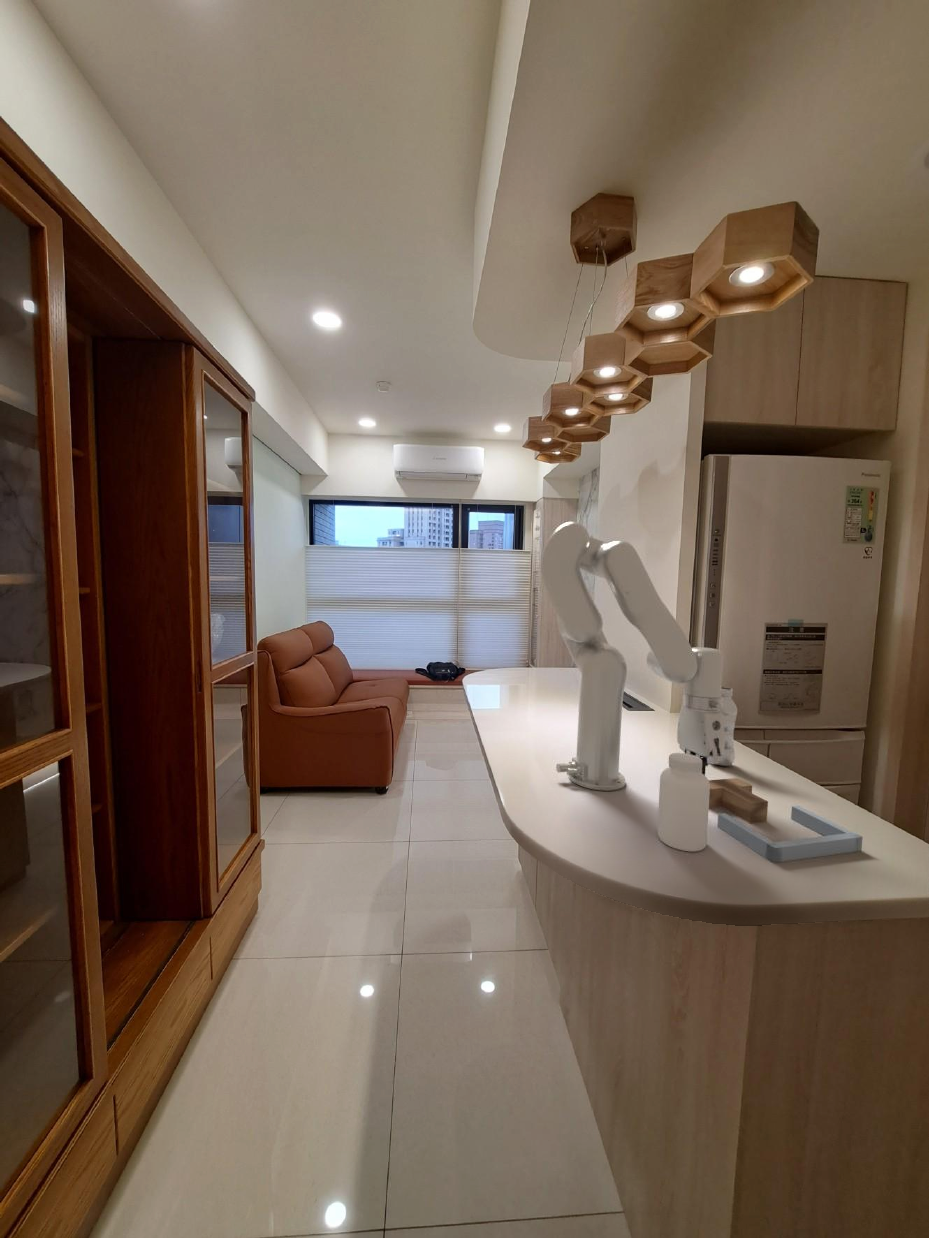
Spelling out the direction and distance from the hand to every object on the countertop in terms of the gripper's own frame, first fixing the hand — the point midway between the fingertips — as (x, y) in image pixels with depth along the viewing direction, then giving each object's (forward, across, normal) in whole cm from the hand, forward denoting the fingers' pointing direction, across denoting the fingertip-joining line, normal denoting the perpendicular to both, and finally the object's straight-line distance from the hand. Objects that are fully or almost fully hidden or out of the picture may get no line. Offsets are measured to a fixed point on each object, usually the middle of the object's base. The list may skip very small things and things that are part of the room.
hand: (696, 781), depth 107 cm
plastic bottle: (+1, +11, -17) cm, 20 cm away
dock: (+1, -23, 0) cm, 23 cm away
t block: (+1, -11, 0) cm, 11 cm away
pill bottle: (+1, -20, +20) cm, 28 cm away
